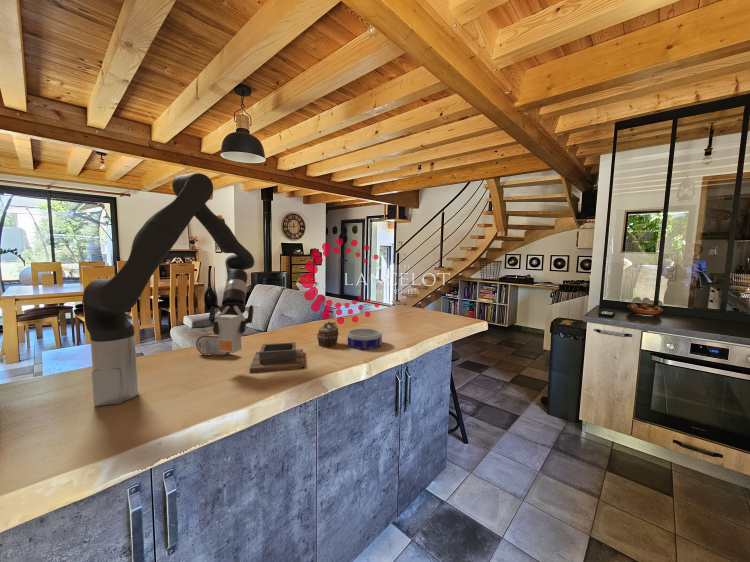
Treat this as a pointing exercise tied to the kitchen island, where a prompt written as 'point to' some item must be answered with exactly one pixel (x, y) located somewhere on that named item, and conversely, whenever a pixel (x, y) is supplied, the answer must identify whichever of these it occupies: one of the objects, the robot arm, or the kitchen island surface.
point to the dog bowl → (364, 338)
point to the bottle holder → (277, 357)
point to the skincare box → (229, 333)
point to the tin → (209, 345)
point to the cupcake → (328, 335)
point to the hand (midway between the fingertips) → (229, 333)
